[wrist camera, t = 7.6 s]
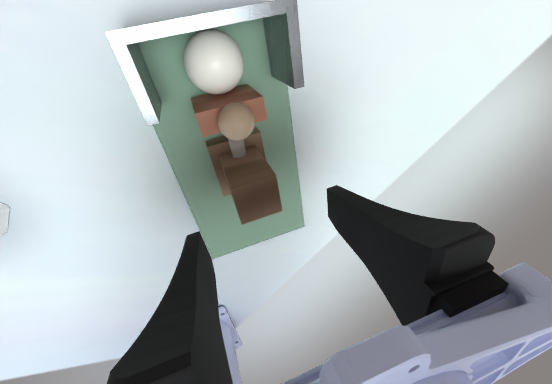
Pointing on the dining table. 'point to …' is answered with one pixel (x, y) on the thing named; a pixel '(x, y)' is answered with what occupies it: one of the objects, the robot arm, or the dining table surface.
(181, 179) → the pitch mat
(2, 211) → the perfume bottle
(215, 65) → the ball
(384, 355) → the robot arm
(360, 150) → the dining table surface
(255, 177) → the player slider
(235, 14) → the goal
